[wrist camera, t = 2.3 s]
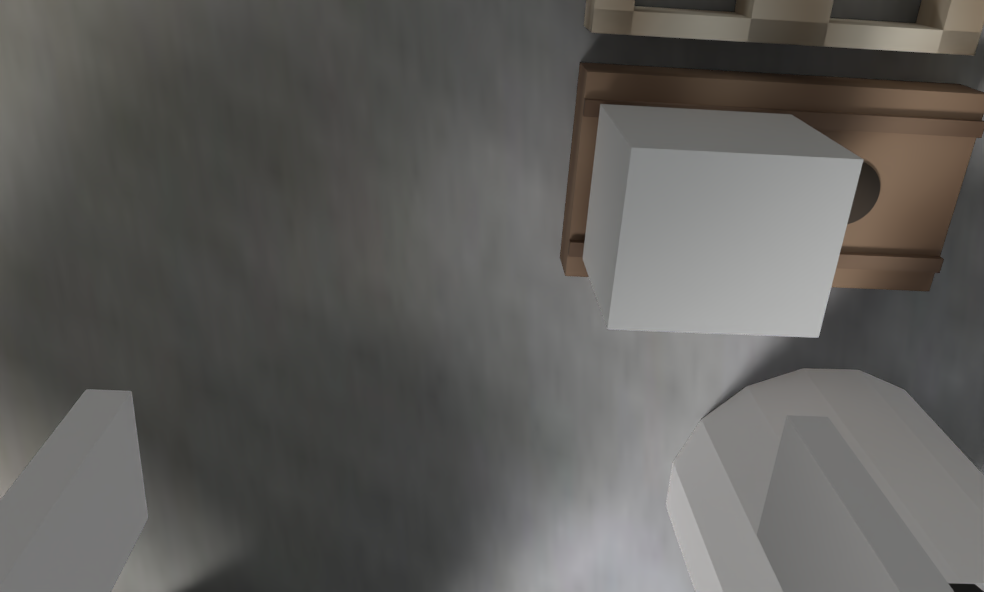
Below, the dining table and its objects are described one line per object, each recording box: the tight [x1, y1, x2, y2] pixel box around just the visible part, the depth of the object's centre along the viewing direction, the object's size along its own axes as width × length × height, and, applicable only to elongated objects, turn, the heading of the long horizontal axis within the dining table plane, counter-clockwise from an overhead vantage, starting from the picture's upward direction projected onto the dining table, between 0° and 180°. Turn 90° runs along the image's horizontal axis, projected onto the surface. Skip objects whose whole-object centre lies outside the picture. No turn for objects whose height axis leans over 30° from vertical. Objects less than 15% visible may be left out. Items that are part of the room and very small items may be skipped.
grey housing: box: [583, 104, 864, 338], centre depth 29 cm, size 7×6×6 cm
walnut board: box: [560, 62, 984, 291], centre depth 33 cm, size 15×8×2 cm, turn 86°
